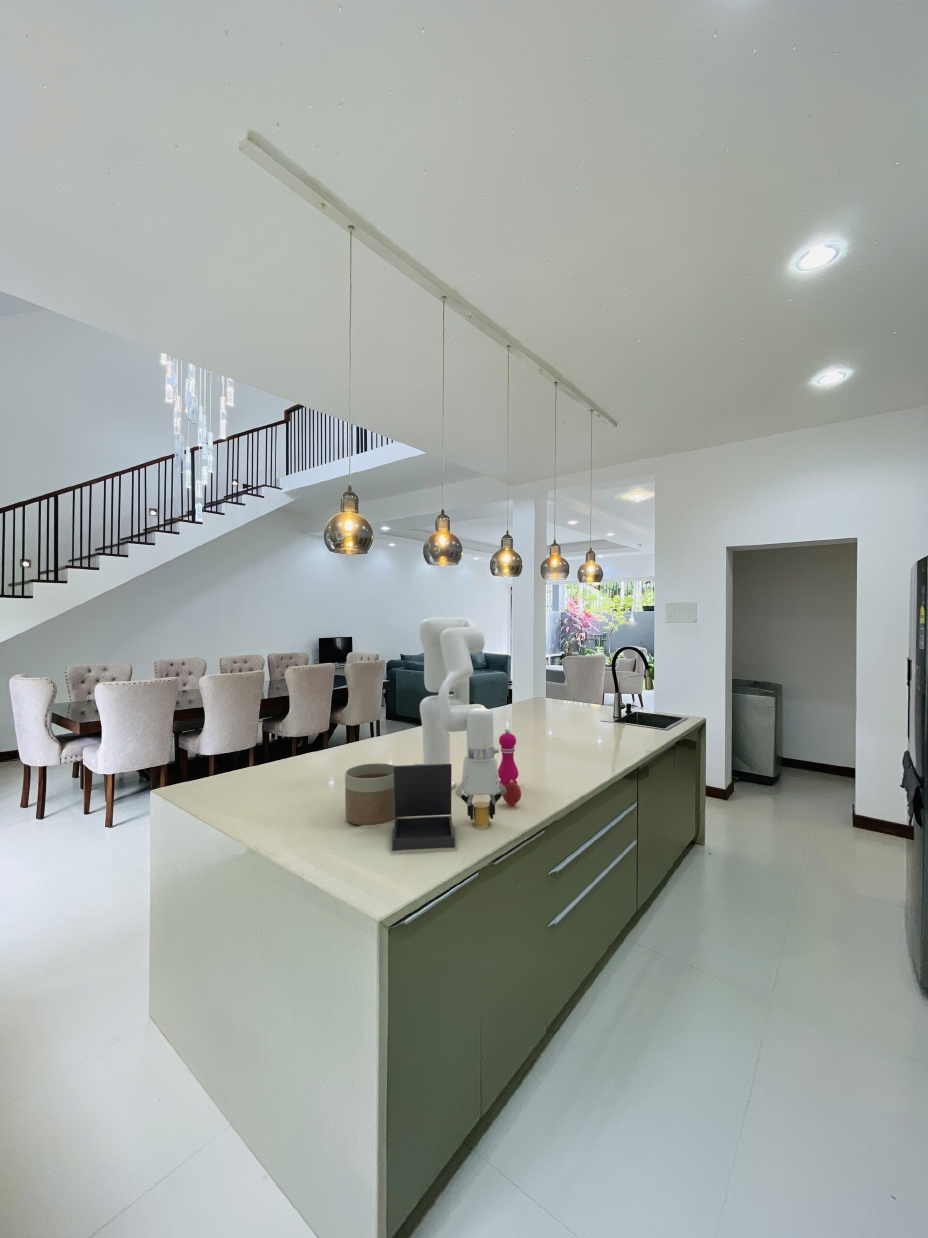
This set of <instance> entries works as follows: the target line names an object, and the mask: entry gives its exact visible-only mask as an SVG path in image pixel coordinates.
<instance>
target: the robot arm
mask: <svg viewBox="0 0 928 1238" xmlns="http://www.w3.org/2000/svg"><path fill="white" fill-rule="evenodd" d="M419 638H420V642H421V643H420V644H421V645H422V649H423V655H424V656H423V657H424V658H423V663H424V664H423V683H424V688H425V690H427V691H428V692H430V693H438V694H437V695H429V696H425V697H424V698H423V699H421V701H420V703H419V715H420V720H421V728H422V764H427V763H432V764H451V737H450V733H457V732H458V733H459V732H466V756H465V757H464V758H463V764H462V779H461V783H460V784H459V785H458V787H457V788H456V789H455V791H454V792H455V793H454V794H455V795H456V796H457V797H458V798H460V799H461V800H462V801H463V802H464V803H465V804H466V805H467V816H468V817H469V819H470V821H474V812H473V799H474V796H482V795H484V796H485V795H489V802H488V803H489V804H490V807H489V820H490V819H491V820H494V816H495V815H496V805H497V802H498V801H499V800H500V799H501V798H502V797H503V795H504V794H505V793H506V792H507V790H506V788H505V787H504V786H503V785H502V783H501V782H500V778H499V775H498V769H499V767H498V761H497V757H496V754H499V753H500V750H499V747H497V748H496V747H495V746H494V713H493V711H492V710H491V709H489V708H486V707H485V706H484V705H483V704H479V703H473V704H470V678H471V677H472V676H473V675H474V666H473V662H472V658H471V654H478V653H481V652H483V650H484V648H485V643H486V639H485V635H484V633H483V630H481V628H480V627H479V625H477V624H476V623H475V622H474V621H472V620H471V619H470V618H469V617H463V616H461V617H460V616H450V617H449V616H438V617H437V616H435V617H428V618H425V619H423V620H422V621H421V623H420V625H419ZM450 692H453V694H450ZM455 786H456V782H455V780H454V779H452V778H451V789H453V788H454V787H455Z"/></svg>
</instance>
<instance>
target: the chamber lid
mask: <svg viewBox="0 0 928 1238" xmlns="http://www.w3.org/2000/svg"><path fill="white" fill-rule="evenodd" d="M452 766H453V765H452V763H450V764H432V763H427V764H423V763H413V764H406V765H405V764H404V765H394V796H395V817H397V818H411V817H433V816H452V788H451V779H452Z"/></svg>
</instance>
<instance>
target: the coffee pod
mask: <svg viewBox="0 0 928 1238" xmlns="http://www.w3.org/2000/svg"><path fill="white" fill-rule="evenodd" d="M472 804H473V825H474V826H477V827H478V826H479V827H485V826H488V825H489V824H490V816H489V807H490V804H489V802H488V801H475V802H472Z"/></svg>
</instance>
